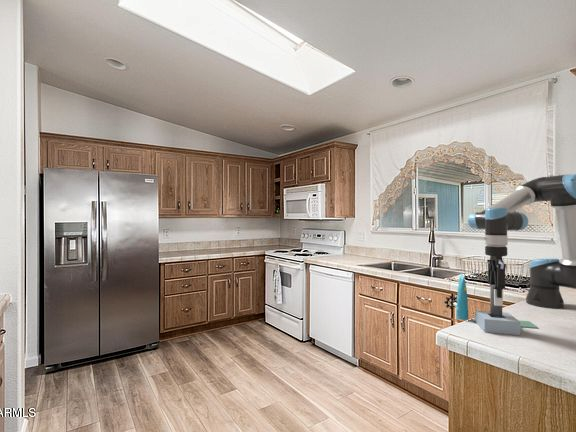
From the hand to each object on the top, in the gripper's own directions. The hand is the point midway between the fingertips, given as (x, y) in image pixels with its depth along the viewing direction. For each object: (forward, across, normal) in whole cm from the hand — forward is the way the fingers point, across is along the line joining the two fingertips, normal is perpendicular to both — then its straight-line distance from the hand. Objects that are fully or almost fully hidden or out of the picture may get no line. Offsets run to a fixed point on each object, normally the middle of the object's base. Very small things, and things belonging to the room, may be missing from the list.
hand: (496, 303), depth 130 cm
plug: (+7, 0, 0) cm, 7 cm away
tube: (+10, -9, -10) cm, 17 cm away
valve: (+10, -19, -10) cm, 23 cm away
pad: (+10, -7, +12) cm, 17 cm away
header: (+10, +1, 0) cm, 10 cm away
